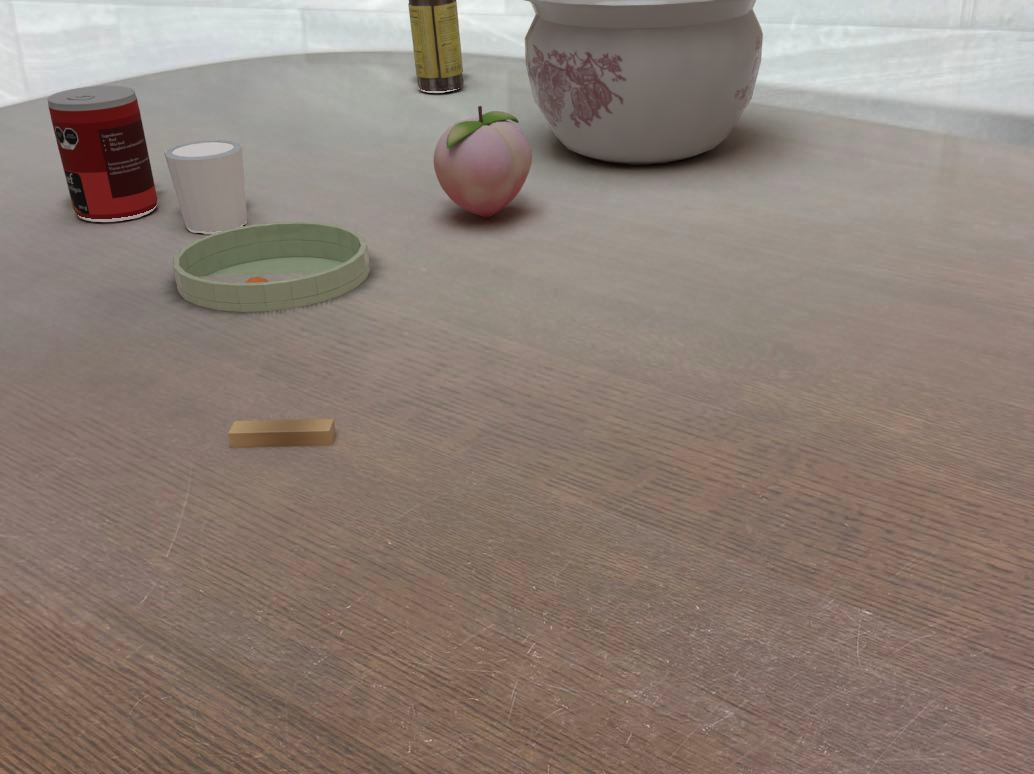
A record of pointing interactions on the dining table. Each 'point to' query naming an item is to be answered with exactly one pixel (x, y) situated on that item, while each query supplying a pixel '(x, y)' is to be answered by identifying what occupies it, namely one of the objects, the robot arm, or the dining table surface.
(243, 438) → the block
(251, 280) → the ball
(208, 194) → the white cup
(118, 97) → the canned food
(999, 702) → the dining table surface
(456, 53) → the sauce bottle
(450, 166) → the decorative fruit
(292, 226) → the bowl
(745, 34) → the chamber pot
